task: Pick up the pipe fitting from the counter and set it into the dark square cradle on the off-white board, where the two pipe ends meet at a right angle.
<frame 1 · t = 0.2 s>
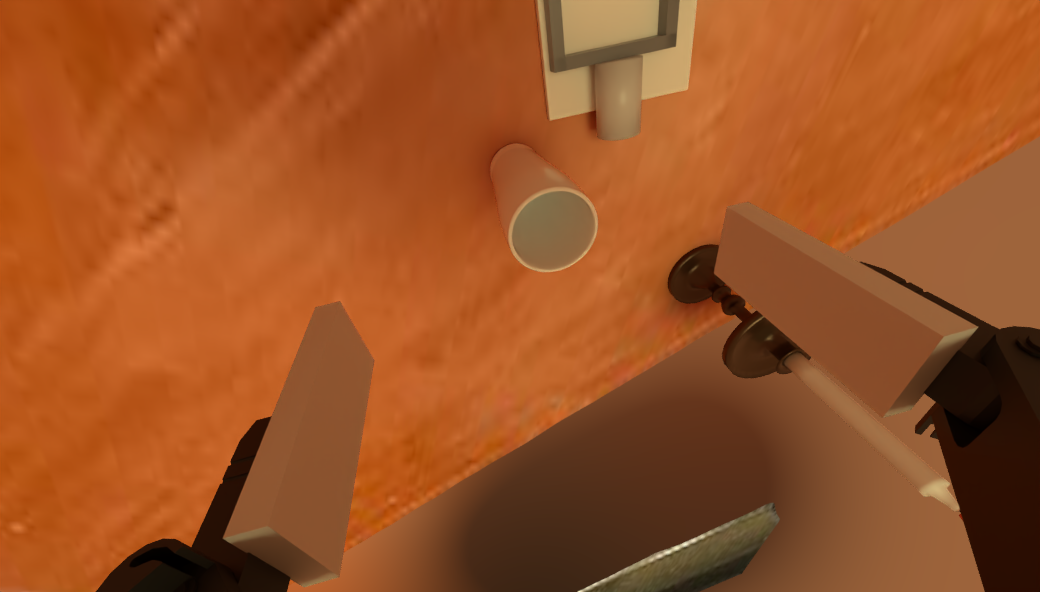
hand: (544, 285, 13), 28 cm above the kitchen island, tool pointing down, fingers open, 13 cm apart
drinking glass: (514, 168, 38), on the kitchen island
candlestick: (697, 272, 52), on the kitchen island
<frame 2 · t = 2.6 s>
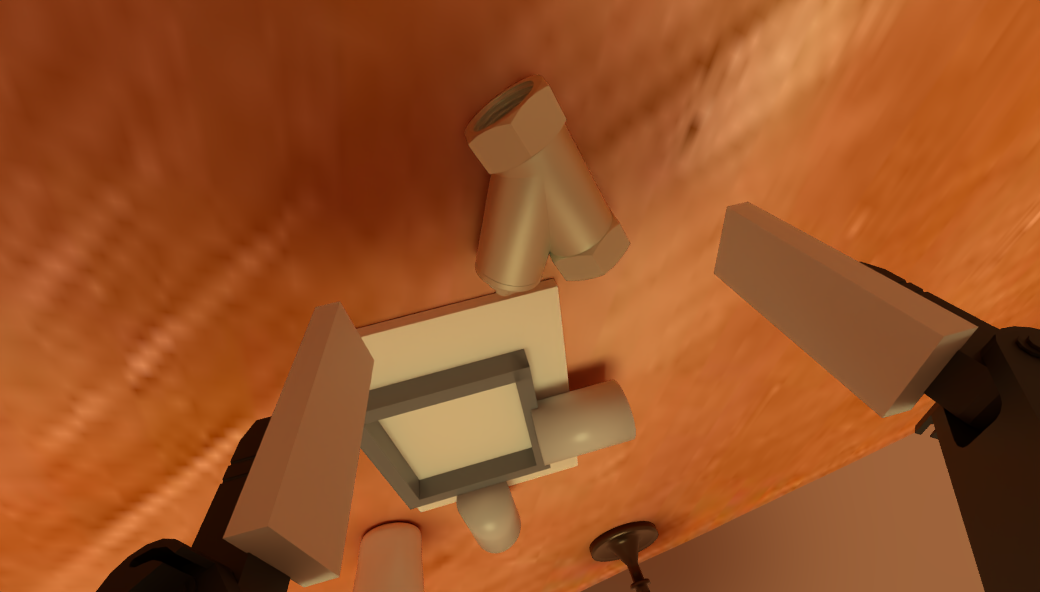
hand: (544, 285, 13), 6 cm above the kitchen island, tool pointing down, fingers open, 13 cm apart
drinking glass: (392, 531, 34), on the kitchen island
coupling board: (472, 414, 26), on the kitchen island
pipe fitting: (512, 194, 18), on the kitchen island
candlestick: (621, 536, 48), on the kitchen island
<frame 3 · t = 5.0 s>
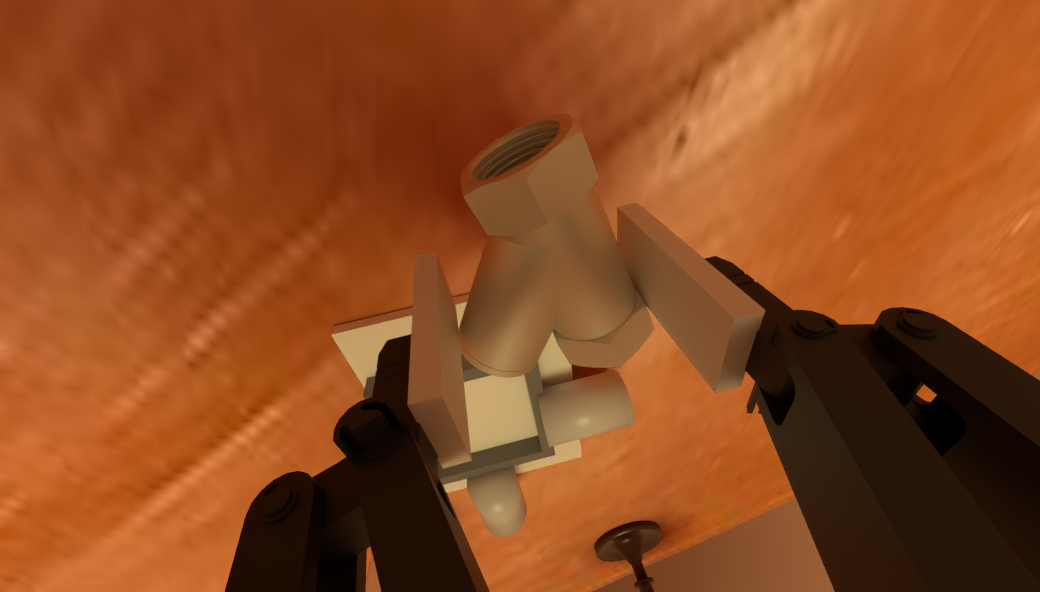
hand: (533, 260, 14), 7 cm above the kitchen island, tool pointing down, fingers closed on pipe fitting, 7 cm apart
drinking glass: (405, 516, 36), on the kitchen island
coupling board: (483, 400, 29), on the kitchen island
pipe fitting: (513, 251, 14), point 6 cm above the kitchen island, touching gripper
candlestick: (626, 536, 49), on the kitchen island
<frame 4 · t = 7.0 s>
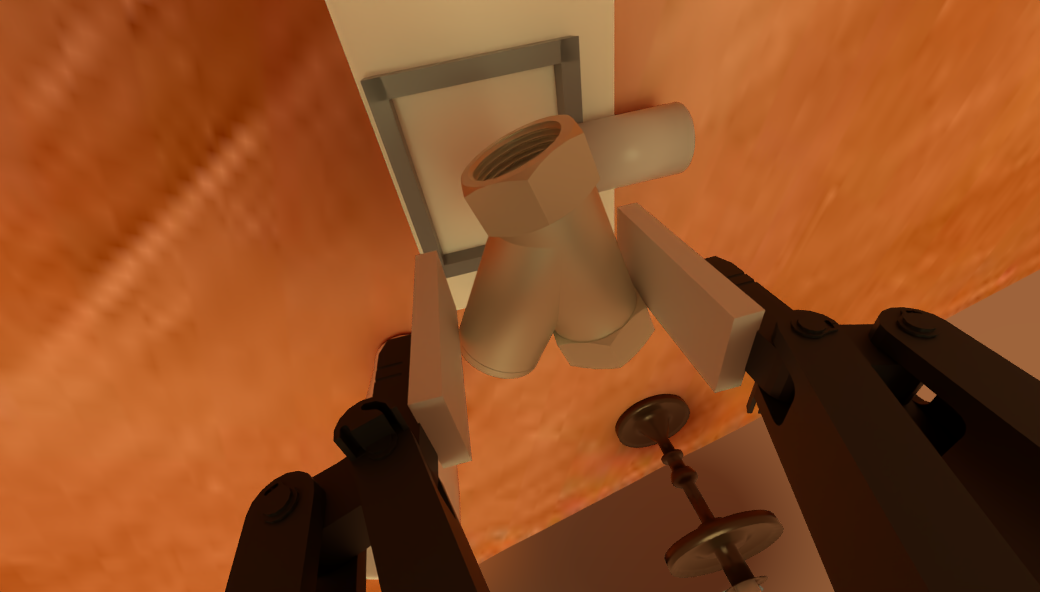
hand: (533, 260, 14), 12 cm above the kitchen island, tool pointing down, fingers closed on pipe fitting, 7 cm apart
drinking glass: (409, 353, 32), on the kitchen island
coupling board: (505, 162, 24), on the kitchen island
pipe fitting: (513, 251, 14), point 12 cm above the kitchen island, touching gripper
candlestick: (649, 417, 45), on the kitchen island
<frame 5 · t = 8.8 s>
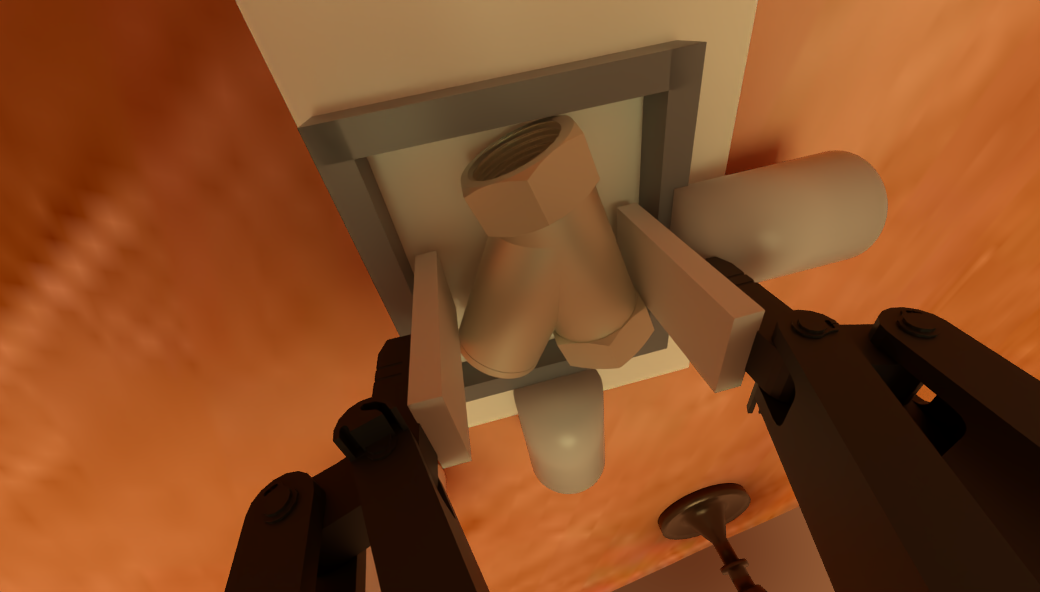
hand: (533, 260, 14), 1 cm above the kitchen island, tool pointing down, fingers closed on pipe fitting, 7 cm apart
drinking glass: (402, 471, 23), on the kitchen island
coupling board: (548, 236, 15), on the kitchen island
pipe fitting: (513, 252, 14), point 1 cm above the kitchen island, touching gripper
candlestick: (699, 506, 37), on the kitchen island
when the fingers open (1 cm above the kitchen island, at t = 10.3 s): pipe fitting stays where it is, resting on coupling board.
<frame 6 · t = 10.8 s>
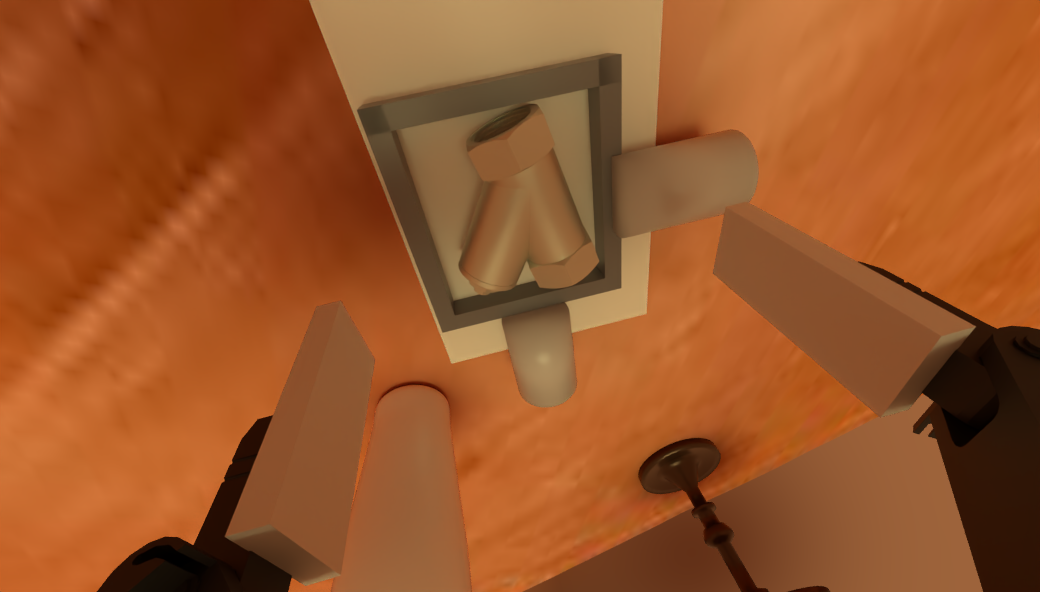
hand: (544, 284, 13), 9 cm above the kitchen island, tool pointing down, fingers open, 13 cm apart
drinking glass: (413, 403, 28), on the kitchen island
coupling board: (526, 197, 20), on the kitchen island
pipe fitting: (501, 204, 20), point 1 cm above the kitchen island, touching coupling board
candlestick: (676, 461, 41), on the kitchen island
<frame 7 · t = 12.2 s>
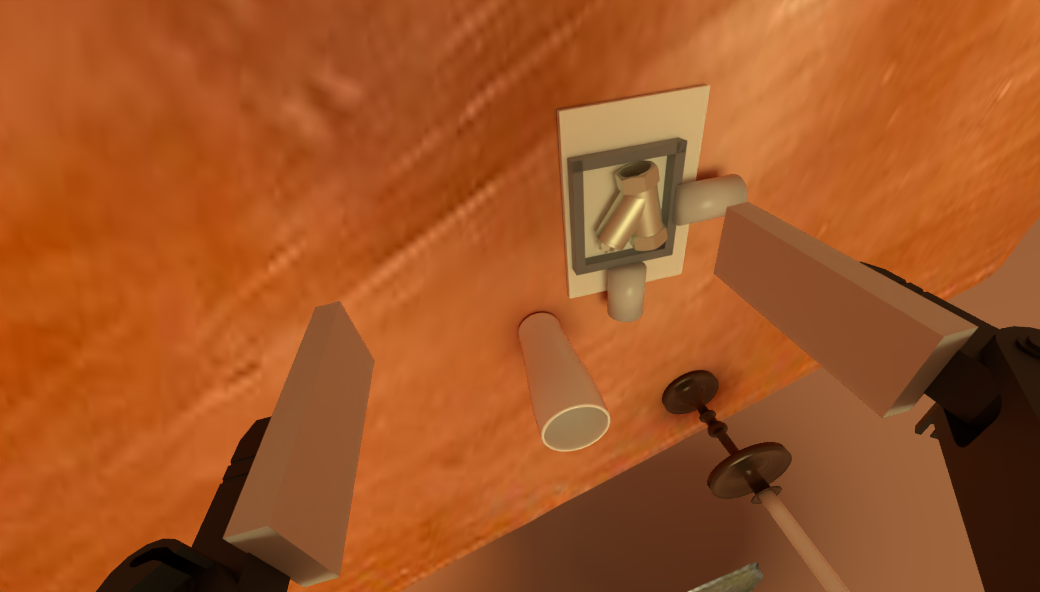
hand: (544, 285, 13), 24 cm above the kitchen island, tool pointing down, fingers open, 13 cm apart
drinking glass: (537, 326, 46), on the kitchen island
coupling board: (627, 203, 39), on the kitchen island
pipe fitting: (617, 206, 38), point 1 cm above the kitchen island, touching coupling board
candlestick: (687, 389, 60), on the kitchen island
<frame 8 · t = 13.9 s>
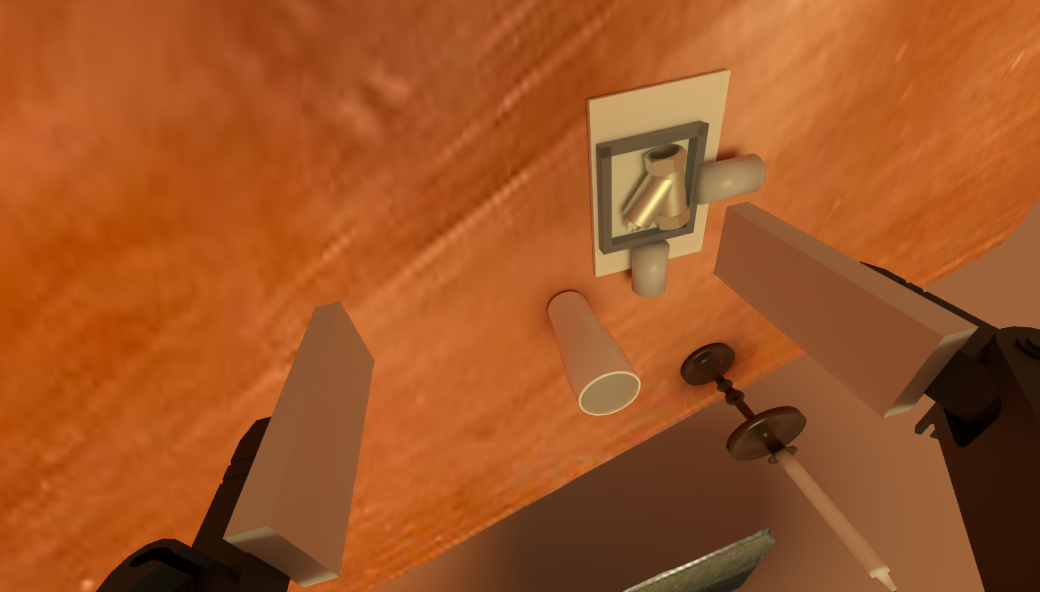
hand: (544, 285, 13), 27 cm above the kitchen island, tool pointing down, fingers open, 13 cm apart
drinking glass: (565, 304, 49), on the kitchen island
coupling board: (650, 185, 41), on the kitchen island
pipe fitting: (643, 188, 40), point 1 cm above the kitchen island, touching coupling board
candlestick: (705, 362, 63), on the kitchen island
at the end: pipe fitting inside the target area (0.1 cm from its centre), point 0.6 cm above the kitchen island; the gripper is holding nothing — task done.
